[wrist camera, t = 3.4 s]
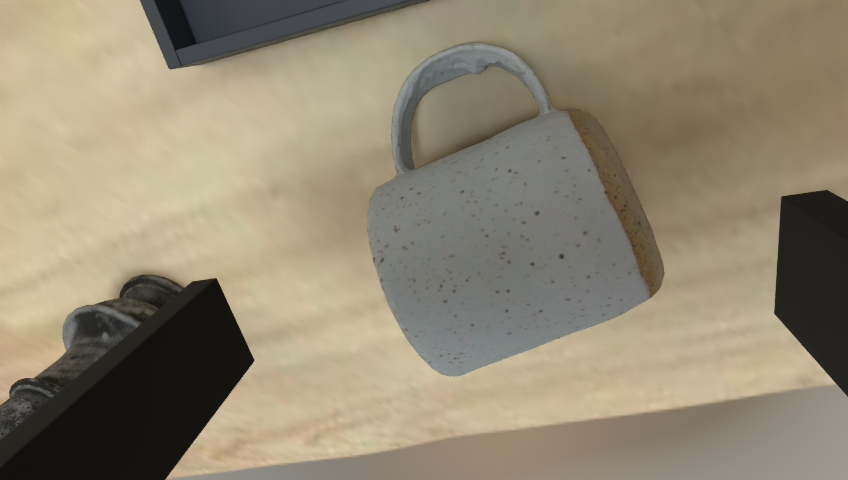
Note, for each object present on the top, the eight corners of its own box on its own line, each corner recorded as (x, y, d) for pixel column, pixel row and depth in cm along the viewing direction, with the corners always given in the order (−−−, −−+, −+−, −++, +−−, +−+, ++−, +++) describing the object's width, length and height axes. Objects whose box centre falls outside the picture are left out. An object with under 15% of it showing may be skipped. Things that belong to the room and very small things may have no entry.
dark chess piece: (178, 372, 29) (-23, 583, 18) (99, 307, 28) (-166, 491, 17) (230, 323, 26) (31, 535, 16) (145, 250, 25) (-132, 424, 14)
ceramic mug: (643, 239, 20) (708, 353, 13) (470, 304, 23) (448, 425, 16) (538, -6, 17) (550, -27, 10) (355, 104, 20) (266, 147, 13)
